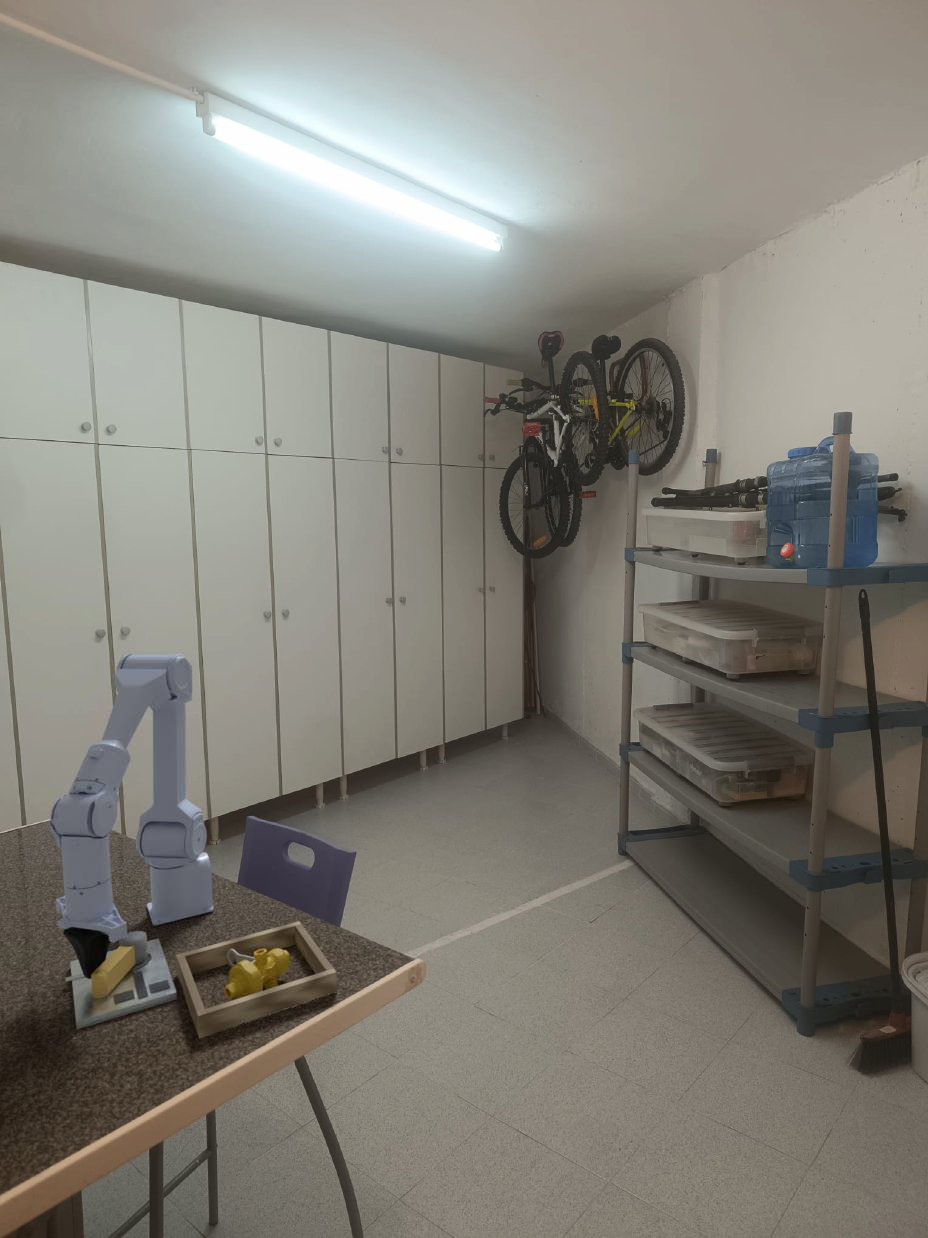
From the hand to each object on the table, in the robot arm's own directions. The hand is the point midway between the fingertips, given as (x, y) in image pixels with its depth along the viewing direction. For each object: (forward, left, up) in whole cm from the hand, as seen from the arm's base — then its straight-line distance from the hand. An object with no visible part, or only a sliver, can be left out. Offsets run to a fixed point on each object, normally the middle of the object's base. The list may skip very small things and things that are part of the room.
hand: (93, 974), depth 101 cm
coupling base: (-3, 0, -2) cm, 4 cm away
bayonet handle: (-3, 0, -1) cm, 3 cm away
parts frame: (-19, +10, -2) cm, 22 cm away
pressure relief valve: (-18, +9, -3) cm, 20 cm away
